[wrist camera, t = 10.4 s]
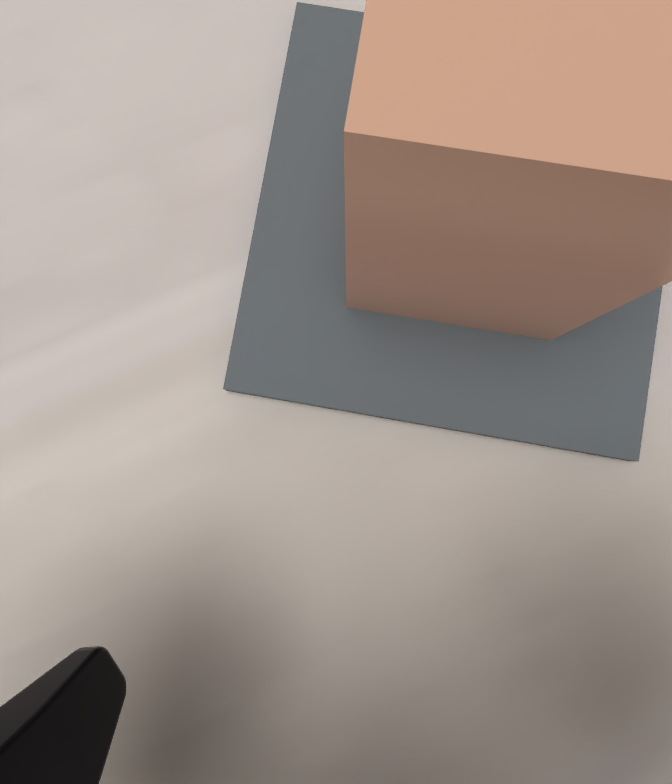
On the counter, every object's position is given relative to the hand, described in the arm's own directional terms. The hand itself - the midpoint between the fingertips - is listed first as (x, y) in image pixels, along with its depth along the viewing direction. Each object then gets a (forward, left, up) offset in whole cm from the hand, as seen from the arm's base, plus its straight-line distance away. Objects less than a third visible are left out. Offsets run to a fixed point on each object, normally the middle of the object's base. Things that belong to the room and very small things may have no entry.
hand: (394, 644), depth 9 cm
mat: (+8, -5, -9) cm, 13 cm away
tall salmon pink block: (+8, -5, -8) cm, 13 cm away
